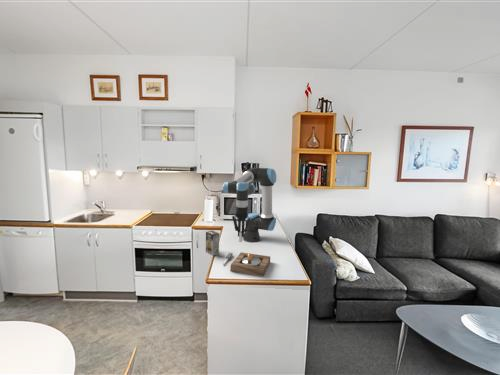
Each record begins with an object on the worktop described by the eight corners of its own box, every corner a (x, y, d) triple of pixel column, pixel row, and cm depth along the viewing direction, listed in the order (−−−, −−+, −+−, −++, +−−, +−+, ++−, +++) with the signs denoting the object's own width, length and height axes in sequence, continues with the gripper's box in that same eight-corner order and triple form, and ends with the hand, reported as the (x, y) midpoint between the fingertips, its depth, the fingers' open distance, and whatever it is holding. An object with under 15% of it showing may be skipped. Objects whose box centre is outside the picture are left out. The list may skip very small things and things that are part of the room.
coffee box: (205, 252, 196) (205, 231, 193) (212, 250, 200) (212, 230, 198) (212, 255, 189) (212, 234, 187) (219, 253, 194) (219, 233, 191)
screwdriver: (229, 255, 191) (229, 252, 191) (232, 256, 190) (232, 253, 190) (221, 265, 174) (221, 262, 174) (225, 266, 174) (225, 262, 174)
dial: (245, 258, 182) (245, 247, 180) (262, 260, 178) (262, 249, 177) (239, 265, 170) (239, 254, 168) (258, 268, 166) (258, 257, 165)
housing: (240, 257, 188) (240, 251, 187) (270, 262, 182) (270, 256, 181) (230, 271, 167) (230, 264, 166) (263, 276, 161) (264, 269, 160)
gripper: (230, 206, 164) (229, 241, 167) (250, 208, 160) (248, 244, 163) (234, 204, 171) (233, 238, 174) (253, 206, 167) (251, 240, 171)
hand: (240, 241), depth 169 cm, fingers closed
